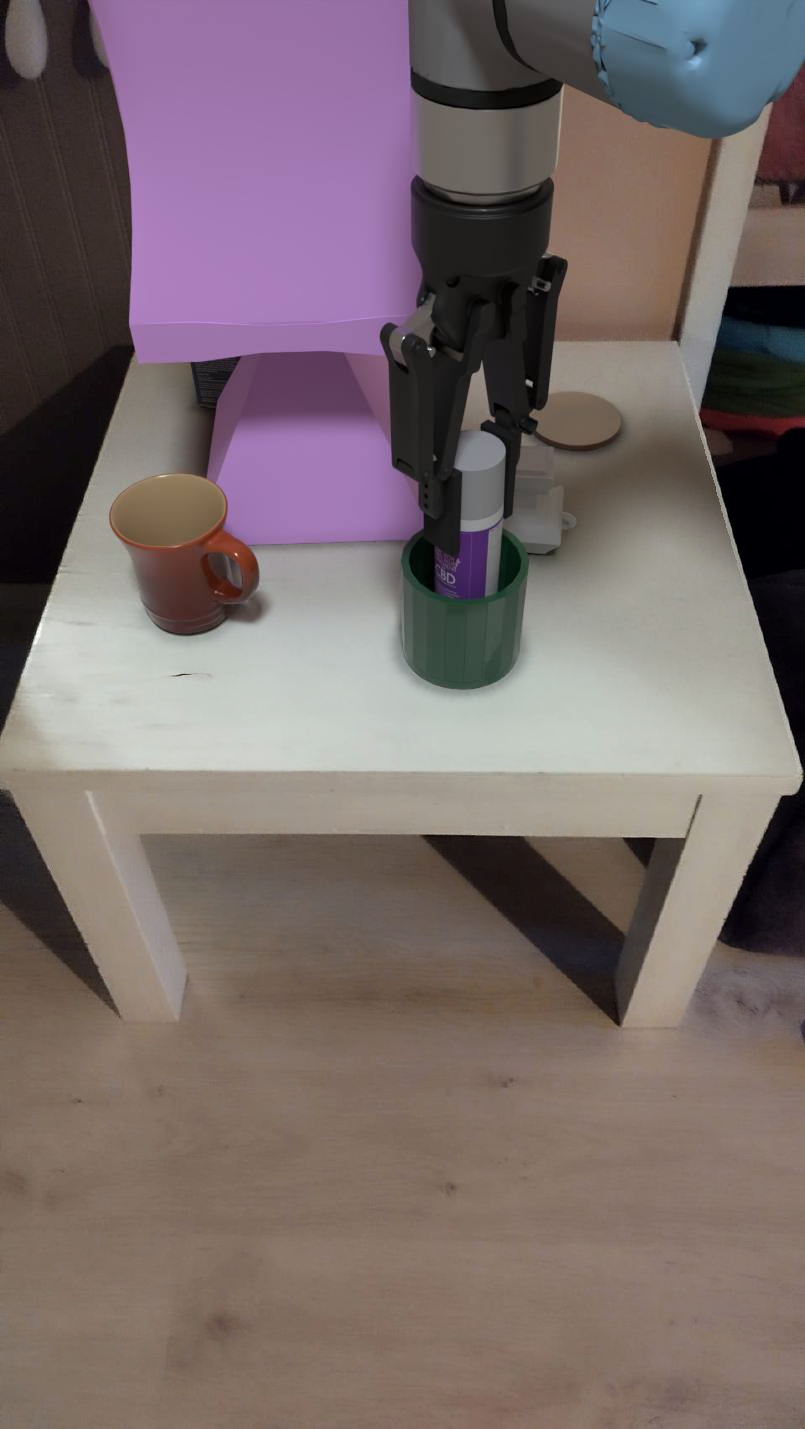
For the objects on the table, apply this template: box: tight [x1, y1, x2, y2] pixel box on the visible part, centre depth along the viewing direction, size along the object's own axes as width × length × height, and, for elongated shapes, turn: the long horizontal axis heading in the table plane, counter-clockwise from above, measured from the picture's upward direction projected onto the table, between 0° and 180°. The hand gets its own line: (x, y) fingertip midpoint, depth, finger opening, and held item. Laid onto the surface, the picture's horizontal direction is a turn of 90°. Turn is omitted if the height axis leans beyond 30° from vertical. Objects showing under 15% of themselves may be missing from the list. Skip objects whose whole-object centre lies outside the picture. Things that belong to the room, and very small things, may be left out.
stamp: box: [502, 445, 578, 555], centre depth 85 cm, size 9×7×8 cm
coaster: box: [529, 391, 623, 452], centre depth 98 cm, size 9×9×1 cm
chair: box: [87, 0, 424, 546], centre depth 77 cm, size 22×22×45 cm
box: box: [189, 356, 242, 409], centre depth 99 cm, size 8×6×11 cm
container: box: [434, 429, 506, 599], centre depth 71 cm, size 5×5×15 cm
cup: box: [399, 527, 530, 690], centre depth 76 cm, size 9×9×9 cm
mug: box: [108, 472, 260, 634], centre depth 78 cm, size 12×9×10 cm
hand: (468, 525), depth 70 cm, fingers closed on container, 5 cm apart
